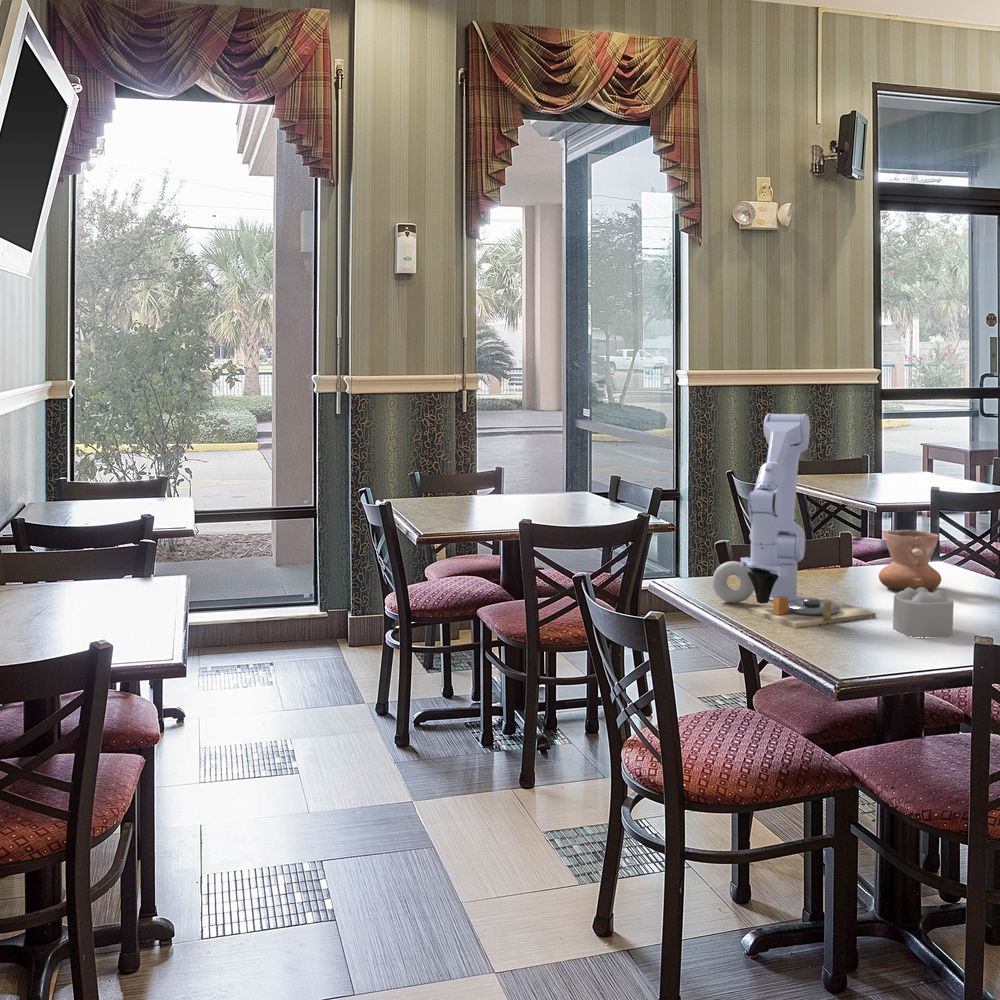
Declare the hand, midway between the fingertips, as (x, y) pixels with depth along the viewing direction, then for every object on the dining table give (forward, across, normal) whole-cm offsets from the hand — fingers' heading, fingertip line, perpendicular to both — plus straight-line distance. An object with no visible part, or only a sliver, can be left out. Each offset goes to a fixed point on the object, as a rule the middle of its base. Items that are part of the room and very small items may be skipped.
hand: (762, 602), depth 241 cm
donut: (+3, -12, 0) cm, 12 cm away
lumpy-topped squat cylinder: (+3, +27, +19) cm, 34 cm away
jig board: (+2, +6, +8) cm, 11 cm away
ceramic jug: (+3, -6, +48) cm, 49 cm away
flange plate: (+1, +6, +7) cm, 9 cm away
